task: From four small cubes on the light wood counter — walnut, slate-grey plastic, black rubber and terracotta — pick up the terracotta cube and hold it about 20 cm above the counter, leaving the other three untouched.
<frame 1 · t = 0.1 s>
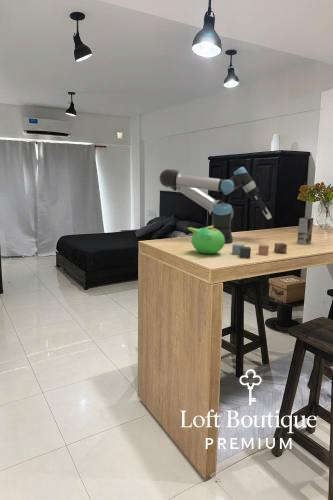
hand: (269, 217, 221), 15 cm above the table, tool tilted 35°, fingers open, 13 cm apart
terracotta cube: (263, 254, 185), on the table
walnut cube: (280, 252, 190), on the table
coffee box: (303, 243, 219), on the table
black rubber cube: (244, 257, 177), on the table
toy bird: (206, 253, 184), on the table
slate grey cube: (237, 253, 185), on the table
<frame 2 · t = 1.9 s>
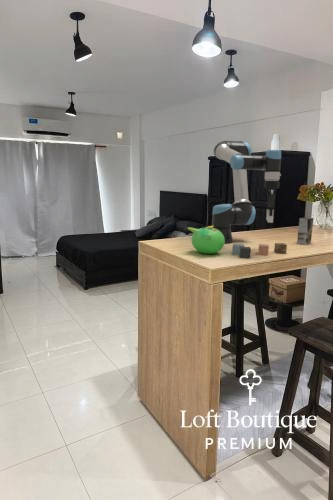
hand: (269, 221, 184), 17 cm above the table, tool pointing down, fingers open, 13 cm apart
nothing on the table moved.
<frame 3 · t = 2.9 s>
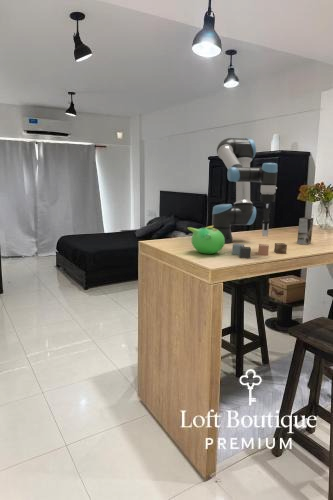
hand: (264, 234, 183), 11 cm above the table, tool pointing down, fingers open, 13 cm apart
nothing on the table moved.
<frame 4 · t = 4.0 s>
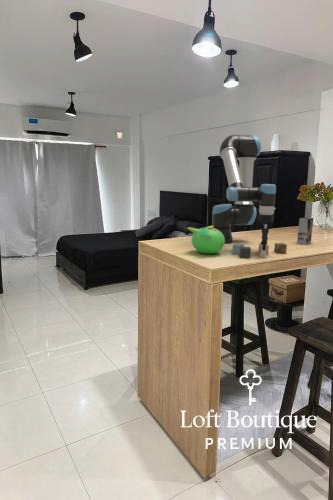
hand: (263, 253, 185), 0 cm above the table, tool pointing down, fingers open, 13 cm apart
nothing on the table moved.
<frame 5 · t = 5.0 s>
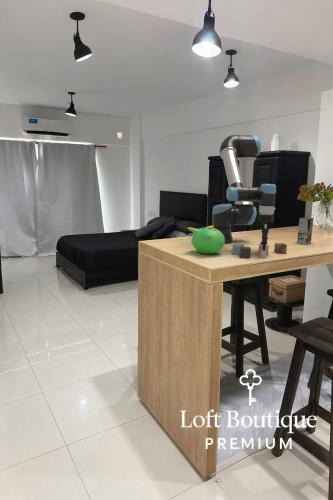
hand: (263, 253, 185), 0 cm above the table, tool pointing down, fingers open, 13 cm apart
nothing on the table moved.
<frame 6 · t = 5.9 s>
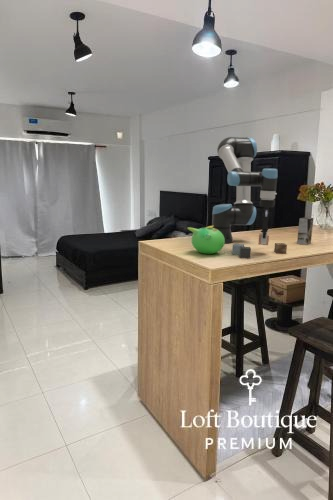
hand: (263, 242, 185), 6 cm above the table, tool pointing down, fingers closed on terracotta cube, 5 cm apart
terracotta cube: (263, 243, 185), point 5 cm above the table, touching gripper
everything else where it was.
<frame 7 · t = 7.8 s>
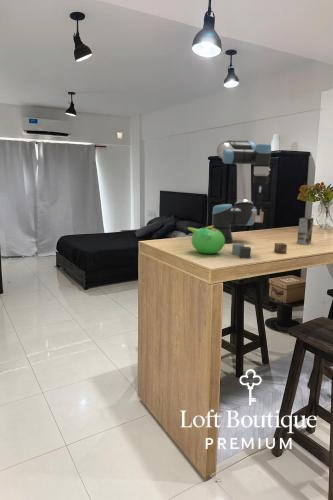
hand: (257, 221, 181), 18 cm above the table, tool pointing down, fingers closed on terracotta cube, 5 cm apart
terracotta cube: (257, 221, 181), point 17 cm above the table, touching gripper
everything else where it was.
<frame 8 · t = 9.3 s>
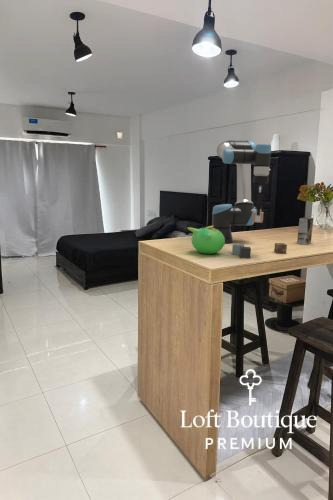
hand: (257, 221, 181), 18 cm above the table, tool pointing down, fingers closed on terracotta cube, 5 cm apart
terracotta cube: (257, 221, 181), point 17 cm above the table, touching gripper
everything else where it was.
at the end: the gripper is holding terracotta cube; terracotta cube point 17.3 cm above the table; walnut cube moved 0.1 cm from its start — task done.
